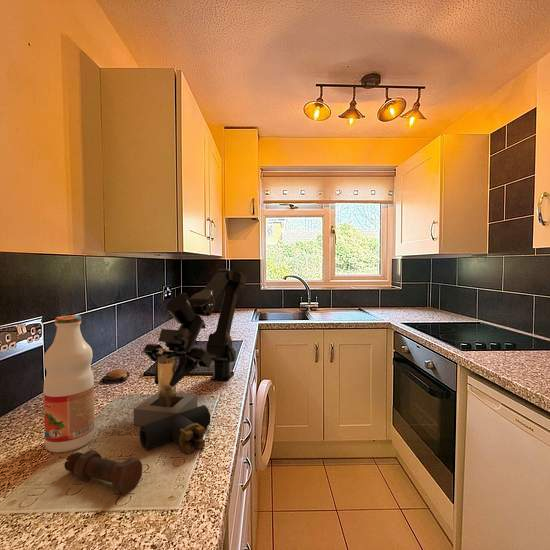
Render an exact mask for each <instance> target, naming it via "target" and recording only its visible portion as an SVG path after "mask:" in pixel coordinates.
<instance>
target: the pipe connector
mask: <svg viewBox="0 0 550 550" xmlns="http://www.w3.org/2000/svg"><path fill="white" fill-rule="evenodd" d="M210 424H211V414H210V410H209V408H208V406H206V405H205V404H203V405H199V406H197V407H196V408H193V409H190V410H187V411H184V412H181V413H178V414H175V415H172V416H169V417H166V418H164V419H161V420H158V421H155V422H152V423H149V424H146V425H143V426H139V432H138V433H139V435H138V436H139V440H140V445H141V447H142V448H143V449H144V450H145V451H148V450H151V449H154V448H155V447H156V448H157V447H159V446H160V445H163V444H165V443H168V442H171V441H174V442H175V443H177V444H178V445H179V446H180V447H179V449H181V450H182V451H183V452H185V453H186V454H187V455H189V454H191V453H193V452H194V450H195V449H199V450H200V449H202V448H205V447H206V446H205V445H206V443H205V441H206V440H205V439H204V435H205V434H206V433H205V428H207V427H209V426H210Z"/></svg>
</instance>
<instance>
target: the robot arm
mask: <svg viewBox="0 0 550 550" xmlns="http://www.w3.org/2000/svg"><path fill="white" fill-rule="evenodd" d="M246 284H247V276H246V275H245V274H244V273H243V272H241V271H239V272H238V271H234V270H232V269H230V268H221V269H220V268H219V269H217V270H216V272H215V274H214V276H213V277H212V278H211V280H210V281H209V282H208V283H207V285H206V286H205V287H204V288H203V289H202V290H201V291H198V292H197V293H194V294H193V295H192V296H191V297H188V295H187V293H185V292H180V293H178V295H177V296H175V297H173V298H171V299H170V300H169V301H168V302H167V303H166V310H167V311H168V312H169V313H170V315H171V316H172V317H173V319H174V321H176V323H177V324H180V325H179V327H178V329H170V328H169V329H167V328H161V329H160V333H159V336H158V342H162V343H165V344H164V346H165V347H166V348H168V349H165V348H164V347H163V346H162V345H161V344H159V343H147V344H146V345H145V347H144V348H143V351H142V352H143V353H144V354H145V355H146V357H148V358H149V359H150V360H151V361H152V362H156V365H155V366H156V367H155V376H154V384H155V385H158V356H161V355H166V354H173V355H175V356H176V359H179V360H178V366H177V368H176V372H175V374H174V376H173V378H172V381H171V384H170V385H171V386H172V387H173V386H175V385H176V386H177V384H178V383H179V382H180V381H181V380H182V379H184V377H186V376H187V375H188V374H190V372H193V370H197V369H198V366H199V367H200V368H207V369H208V368H210V367H211V365H212V362H213V375H212V376H211V377H210V378H209V380H211V381H224V382H229V380H231V378H232V377H234V373H233V372H231V363H233V362H235V361H236V360H237V359H236V358H237V352H236V350H235V349H234V347H233V340H232V337H231V329H232V325H233V320H234V315H235V311H236V307H237V301H238V296H240V295H241V294H242V292H243V291H244V290H245V286H246ZM222 291H224V295H223V299H222V303H221V308H220V312H219V317H218V321H217V324H216V330H215V331H214V332H213V333H210V334H209V335H208V339H207V342H206V346H205V348H201V347H194V346H197V345H198V343H199V342H198V340H197V338H198V336H199V334H200V332H201V330H202V329H203V330H206V323H205V320H204V319H203V318H202V317H210V316H211V315H212V314H213V312H214V309H215V308H216V300H217V298H218V297H219V295H220V294H221V292H222ZM197 365H198V366H197Z"/></svg>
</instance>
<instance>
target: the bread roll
mask: <svg viewBox="0 0 550 550" xmlns="http://www.w3.org/2000/svg"><path fill="white" fill-rule="evenodd" d="M129 377H130V372H128V371H126V370H125V369H123V368H115V369H114V368H113V369H112V370H111V371H108V372H107V373H106V374H105V375H104V376H103V377H102V378H101V379H100V382H101V384H102V385H104V386H105V385H107V386H108V385H120V384H122V383H123V384H124V383H126V382H127V381H128V378H129Z"/></svg>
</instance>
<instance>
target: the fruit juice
mask: <svg viewBox="0 0 550 550" xmlns="http://www.w3.org/2000/svg"><path fill="white" fill-rule="evenodd" d="M81 324H82V316H81V315H76V314H75V315H74V314H73V315H62V316H57V317H55V318H54V325H55V326H56V332H55V336H54V339H53V342H52V344H51V345H50V346H49V347H48V349H47V350H46V352H45V353H44V357H43V365H44V368H45V371H46V376H45V377H44V379H43V380H44V381H43V417H44V418H43V421H44V422H43V426H44V427H43V428H44V430H43V431H44V446H45V449H46V450H47V452H51V453H66V452H71V451H74V450H77V449H80V448H82V447H85V445H87V444H88V443H90V442H91V441H92V440H93V439H94V437H95V434H96V433H95V430H96V428H95V427H96V425H95V424H96V423H95V378H94V372H93V369H92V368H91V366H92V365H91V364H92V362H93V361H92V360H93V356H94V355H93V349H92V346H90V345H89V343H88V342H86V340H85V339H84V337H83V335H82V332H81Z"/></svg>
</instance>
